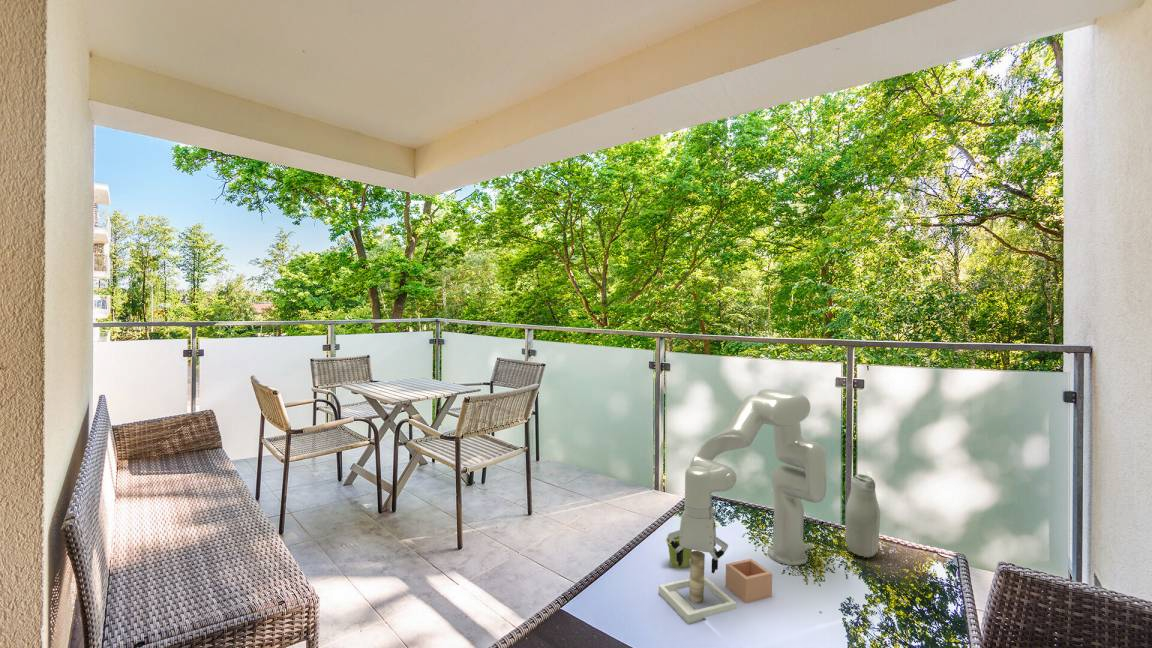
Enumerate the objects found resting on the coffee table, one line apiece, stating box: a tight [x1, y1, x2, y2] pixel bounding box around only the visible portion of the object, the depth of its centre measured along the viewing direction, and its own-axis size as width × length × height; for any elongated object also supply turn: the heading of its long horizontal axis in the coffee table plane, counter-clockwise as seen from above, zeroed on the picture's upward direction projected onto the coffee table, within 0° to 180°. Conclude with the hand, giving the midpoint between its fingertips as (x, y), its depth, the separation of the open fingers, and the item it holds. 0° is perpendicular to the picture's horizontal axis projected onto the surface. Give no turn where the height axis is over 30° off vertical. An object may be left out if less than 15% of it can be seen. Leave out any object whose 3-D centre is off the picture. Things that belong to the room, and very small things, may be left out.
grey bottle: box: [845, 473, 881, 558], centre depth 184 cm, size 10×10×28 cm
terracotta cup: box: [725, 558, 773, 604], centre depth 160 cm, size 9×9×8 cm
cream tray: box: [658, 575, 737, 625], centre depth 156 cm, size 16×16×3 cm
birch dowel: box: [689, 550, 706, 604], centre depth 155 cm, size 4×4×14 cm
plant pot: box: [665, 536, 693, 569], centre depth 177 cm, size 9×9×9 cm
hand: (696, 567), depth 155 cm, fingers open, 9 cm apart
